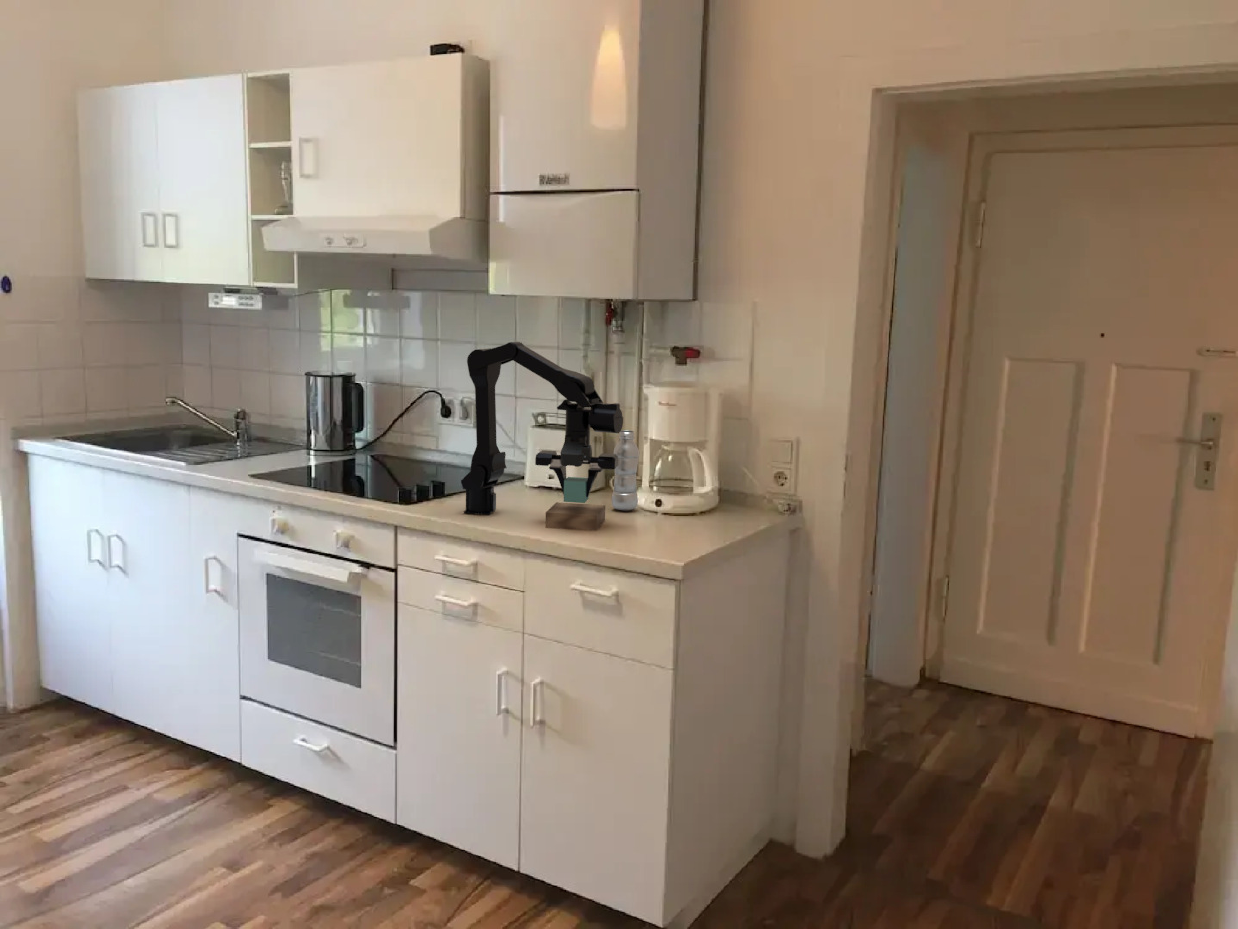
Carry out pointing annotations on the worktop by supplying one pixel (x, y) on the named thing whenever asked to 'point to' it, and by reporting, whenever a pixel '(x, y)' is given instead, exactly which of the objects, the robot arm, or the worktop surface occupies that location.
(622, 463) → the plastic bottle
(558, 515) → the walnut box
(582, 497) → the teal cube
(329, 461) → the worktop surface
